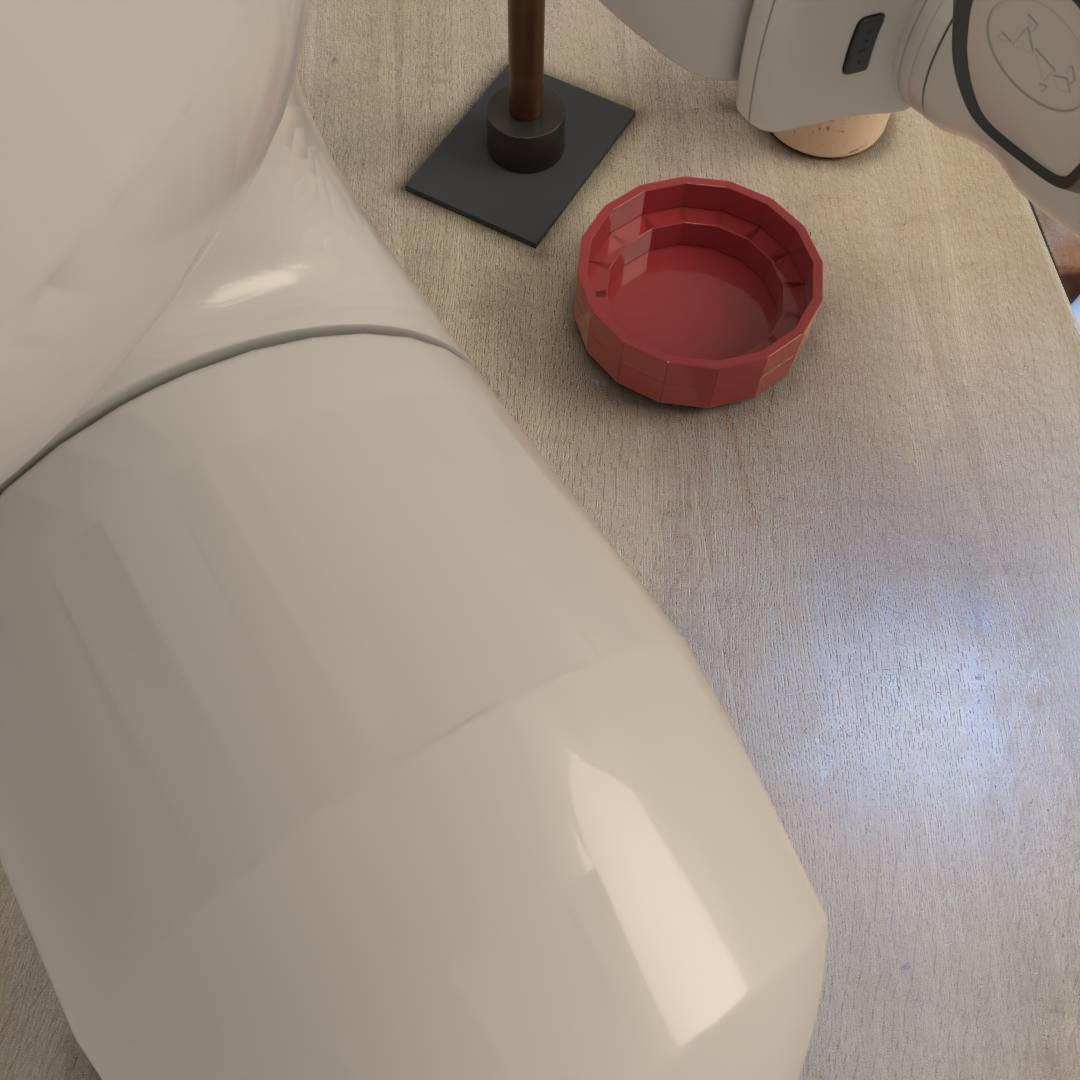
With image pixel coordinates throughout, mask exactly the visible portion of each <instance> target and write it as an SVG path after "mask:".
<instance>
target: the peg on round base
mask: <svg viewBox="0 0 1080 1080" xmlns="http://www.w3.org/2000/svg"><path fill="white" fill-rule="evenodd" d="M545 22H546V0H507V44H508V45H507V55H508V57H507V58H508V62H507V65H508V66H509V85H507V86H505V87H503V88H501V89H499V90H498V91H496V92H495V93H494V94H493V95H492V96H491V98H490V99H489V101H488V103H487V107H486V119H487V145H488V152H489V154H490V156H491V158H492V159H493V160H494V161H495V163H497V164H498V165H499V166H501V167H502V168H504V169H506V170H509V171H511V172H515V173H523V174H530V173H537V172H541V171H544V170H546V169H548V168H550V167H552V166H553V165H554V164H556V163H557V162H558V161H559V159H560V158H561V156H562V154H563V151H564V141H565V119H566V107H565V104H564V102H563V100H562V98H561V97H560V96H559V95H558V94H557V93H556V92H555V91H554V90H552V89H551V88H549V87H547V86H544V85H543V81H544V74H545V69H544V68H545V30H546V29H545V27H546V26H545V24H546V23H545Z"/></svg>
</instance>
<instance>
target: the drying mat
mask: <svg viewBox="0 0 1080 1080" xmlns="http://www.w3.org/2000/svg"><path fill="white" fill-rule="evenodd" d="M507 85H509V66H508V64H507V65H506V66H505V68H504V69H503V70H502V71H501V72H500V73H499V74H498V76H497V77H496V78H495V79H494V80H493V82H492V83H491V84H490V85H489V86H488V88H486V90H485V91H484V92H483V93H482V94H481V96H480V97H479V98H477V100H476V102H475V103H473V105H472V106H471V107H470V108H469V110H468V111H467V112H466V113H465V114H464V115H463V117H462V118H461V119H460V120H459V121H458V122H457V124H455V126H454V127H453V128H452V129H451V131H450V132H449V133H448V134H447V135H446V136H445V137H444V139H443V140H442V141H441V142H440V143H439V144H438V146H437V147H436V148H435V149H434V150H433V152H431V154H430V155H429V156H428V157H427V158H426V159H425V161H424V162H423V163H422V164H421V165H420V167H419V168H418V169H417V170H416V171H415V172H414V173H413V175H412V176H411V177H410V178H409V179H408V181H407V182H406V183H405V184H404V189H405V190H406V191H408V192H410V193H413V194H415V195H418V196H419V197H422V198H424V199H426V200H428V201H430V202H433V203H435V204H438V205H440V206H441V207H444V208H445V209H449V210H451V211H453V212H455V213H457V214H460V215H462V216H464V217H466V218H469V219H472V221H475V222H478V223H479V224H482V225H484V226H487V227H489V228H491V229H493V230H495V231H498V232H500V233H501V234H504V235H506V236H509V237H511V238H513V239H515V240H517V241H520V242H522V243H525V244H527V245H529V246H531V247H534V248H537V247H538V246H539V244H540V243H541V241H542V240H543V239H544V238H545V236H546V235H547V233H548V232H549V231H550V229H551V228H552V227H553V225H554V224H555V223H556V222H557V220H558V219H559V218H560V216H561V215H562V213H563V212H564V211H565V209H566V208H567V207H568V205H569V204H570V203H571V202H572V200H573V199H574V198H575V196H576V195H577V194H578V192H579V191H580V190H581V188H582V187H583V185H584V184H585V183H586V182H587V180H588V179H589V178H590V176H591V175H592V174H593V172H595V170H596V168H597V167H598V165H599V164H600V163H601V162H602V160H603V159H604V158H605V156H607V154H608V152H609V151H610V150H611V148H612V147H613V145H614V144H615V143H616V141H617V140H618V139H619V138H620V137H621V135H622V133H623V132H625V130H626V129H627V127H628V125H629V124H630V123H631V122H632V121H633V119H634V118H635V117H636V113H637V112H636V110H635V109H633V108H630V107H628V106H625V105H623V104H620V103H618V102H615V101H613V100H611V99H608V98H605V97H603V96H600V95H599V94H596V93H594V92H591V91H588V90H587V89H583V88H581V87H579V86H576V85H573V84H571V83H569V82H566V81H564V80H561V79H560V78H559V79H558V78H557V77H554V76H551V75H549V74H546V73H544V81H543V85H544V86H547V87H549V88H551V89H552V90H554V91H555V92H556V93H557V94H558V95H559V96H560V97H561V98H562V100H563V102H564V104H565V107H566V119H565V141H564V151H563V154H562V156H561V158H560V159H559V161H558V162H557V163H556V164H554V165H553V166H552V167H550V168H548V169H546V170H544V171H541V172H537V173H530V174H523V173H515V172H511V171H509V170H506V169H504V168H502V167H501V166H499V165H498V164H497V163H495V161H494V160H493V159H492V158H491V156H490V154H489V152H488V145H487V119H486V107H487V103H488V101H489V99H490V98H491V96H492V95H493V94H494V93H495V92H496V91H498V90H499V89H501V88H503V87H505V86H507Z"/></svg>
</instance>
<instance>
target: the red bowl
mask: <svg viewBox="0 0 1080 1080" xmlns="http://www.w3.org/2000/svg"><path fill="white" fill-rule="evenodd" d="M575 282H576V283H575V295H574V296H575V297H574V308H573V309H574V311H573V312H574V313H573V316H574V319H575V322H576V325H577V328H578V331H579V333H580V337H581V339H582V342H583V345H584V347H585V350H586V352H587V353H588V355H590V357H592V359H594V360H595V362H596V363H598V365H599V366H600V367H601V368H602V369H603V370H604V371H605V372H606V373H608V375H609V376H610V377H611V378H612V379H613V380H614V381H615V382H616V383H618V385H621V386H623V387H626V388H628V389H630V390H632V391H634V392H636V393H638V394H640V395H642V396H645V397H646V398H649V399H651V400H653V401H655V402H657V403H661V404H669V405H677V406H685V407H694V408H704V409H707V408H708V409H711V408H715V407H720V406H724V405H729V404H734V403H737V402H742V401H746V400H750V399H754V398H755V397H757V396H758V395H760V394H761V393H763V392H765V391H766V390H768V389H769V388H770V387H772V386H773V385H774V384H776V383H777V382H779V381H780V380H781V379H784V378H785V377H786V376H788V374H789V373H790V372H791V369H792V368H793V366H794V364H795V363H796V361H797V359H798V357H799V356H800V354H801V352H802V351H803V349H804V347H805V345H806V343H807V341H808V339H809V336H810V333H811V331H812V328H813V326H814V324H815V321H816V318H817V316H818V313H819V311H820V308H821V305H822V303H823V300H824V262H823V260H822V258H821V255H820V254H819V251H818V250H817V248H816V245H815V244H814V242H813V240H812V238H811V236H810V234H809V232H808V230H807V228H806V226H805V225H804V224H803V223H801V222H800V221H799V220H797V218H796V217H794V216H793V215H792V214H791V213H789V211H788V210H786V209H785V208H784V206H782V205H780V204H779V203H778V202H777V201H776V200H775V199H773V198H772V197H770V196H767V195H764V194H762V193H760V192H757V191H755V190H752V189H750V188H747V187H745V186H743V185H740V184H737V183H736V182H733V181H730V180H724V179H713V178H712V179H711V178H702V177H693V176H680V177H674V178H669V179H664V180H663V179H662V180H658V181H654V182H653V181H652V182H649V183H643V184H639V185H638V186H636V187H634V188H633V189H631V190H629V191H627V192H626V193H623V194H622V195H620V196H619V197H617V198H615V199H614V200H612V201H610V202H608V203H607V204H605V205H604V206H603V207H602V209H601V210H600V211H599V213H598V214H597V215H596V217H595V218H594V219H593V221H592V222H591V224H590V225H589V226H588V228H587V229H586V231H585V232H584V233H583V234H582V237H581V241H580V248H579V255H578V263H577V270H576V281H575Z"/></svg>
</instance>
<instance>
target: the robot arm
mask: <svg viewBox="0 0 1080 1080" xmlns="http://www.w3.org/2000/svg"><path fill="white" fill-rule="evenodd" d="M598 1H599V2H600V3H601V4H602V5H603V6H604V7H605V8H606V9H607V10H608V11H609V12H610V13H612V14H613V15H614V16H615V17H616V18H617V19H618V20H619V21H621V23H623V24H624V25H625V26H626V27H628V29H630V30H631V31H632V32H633V33H634V34H636V35H637V36H638V37H640V38H641V39H642V40H643V41H645V42H646V44H648V45H650V46H651V47H653V48H654V49H655V50H656V51H657V52H659V53H660V54H662V55H663V56H664V57H666V58H667V59H669V60H670V61H671V62H673V63H674V64H676V65H677V66H679V67H681V68H682V69H684V70H686V71H688V72H689V73H691V74H694V75H696V76H698V77H701V78H704V79H707V80H712V81H718V82H735V81H737V86H736V94H735V107H736V109H737V111H738V113H739V114H740V115H741V116H742V117H743V118H744V119H745V120H746V121H747V122H748V123H749V124H751V125H752V126H754V127H755V128H757V129H758V130H760V131H763V132H766V133H773V132H780V131H786V130H790V129H795V128H799V127H803V126H807V125H812V124H816V123H821V122H825V121H830V120H835V119H841V118H847V117H853V116H860V115H869V114H890V113H891V114H896V113H902V112H904V111H907V110H909V109H910V108H912V109H913V110H914V111H915V112H917V113H918V114H920V115H921V116H922V117H923V118H925V119H926V120H927V121H929V123H931V124H932V125H934V126H935V127H936V128H937V129H939V130H941V131H943V132H946V133H948V134H950V135H954V136H956V137H959V138H963V139H966V140H968V141H970V142H972V143H974V144H976V145H977V146H979V147H980V148H982V149H984V150H985V151H986V152H988V153H989V154H990V155H991V156H992V157H993V158H994V159H995V160H996V161H997V162H998V163H999V165H1000V166H1001V168H1002V169H1003V171H1004V172H1005V173H1006V176H1007V177H1008V178H1009V180H1010V181H1011V183H1012V185H1013V186H1014V188H1015V189H1016V190H1017V191H1018V193H1019V194H1020V195H1022V197H1024V198H1025V199H1026V200H1028V201H1029V202H1030V203H1031V204H1032V205H1034V206H1035V207H1036V208H1038V210H1040V211H1042V212H1043V213H1044V214H1045V215H1047V217H1049V218H1050V219H1051V220H1053V221H1054V222H1055V223H1057V224H1058V225H1059V226H1061V227H1062V228H1063V229H1065V230H1066V231H1068V232H1069V233H1070V234H1072V235H1073V236H1074V237H1076V238H1078V240H1080V0H598ZM311 4H312V0H0V863H1V866H2V868H3V871H4V873H5V875H6V878H7V880H8V883H9V885H10V887H11V890H12V893H13V894H14V896H15V899H16V902H17V904H18V906H19V909H20V911H21V913H22V916H23V918H24V921H25V923H26V925H27V928H28V929H29V932H30V934H31V937H32V940H33V942H34V944H35V947H36V949H37V951H38V954H39V956H40V958H41V961H42V963H43V966H44V968H45V970H46V973H47V974H48V978H49V979H50V982H51V984H52V987H53V989H54V992H55V995H56V996H57V999H58V1001H59V1003H60V1006H61V1009H62V1011H63V1014H64V1016H65V1018H66V1021H67V1023H68V1025H69V1027H70V1030H71V1032H72V1035H73V1036H74V1038H75V1041H76V1042H77V1044H78V1045H79V1047H80V1048H81V1051H83V1053H84V1054H85V1056H86V1058H87V1059H88V1061H89V1062H90V1064H91V1065H92V1066H93V1069H94V1070H95V1071H96V1073H97V1074H98V1076H99V1078H100V1079H101V1080H799V1077H800V1075H801V1072H802V1070H803V1068H804V1064H805V1061H806V1057H807V1053H808V1050H809V1047H810V1043H811V1039H812V1036H813V1032H814V1029H815V1027H816V1022H817V1019H818V1013H819V1008H820V1002H821V995H822V989H823V984H824V978H825V971H826V959H827V958H826V956H827V943H828V942H827V941H828V926H829V925H828V916H827V914H826V911H825V909H824V907H823V906H822V903H821V901H820V898H818V895H817V893H816V891H815V888H814V887H813V885H812V883H811V881H810V878H809V876H808V874H807V873H806V870H805V868H804V866H803V864H802V862H801V860H800V858H799V856H798V854H797V852H796V850H795V848H794V845H793V843H792V841H791V839H790V837H789V835H788V833H787V831H786V829H785V826H784V825H783V823H782V820H781V819H780V816H779V814H778V812H777V810H776V808H775V806H774V804H773V802H772V799H771V798H770V795H769V794H768V792H767V790H766V788H765V786H764V783H763V782H762V779H761V777H760V775H759V773H758V771H757V769H756V768H755V765H754V763H753V762H752V759H751V757H750V755H749V754H748V752H747V750H746V748H745V746H744V744H743V742H742V740H741V738H740V737H739V735H738V732H737V731H736V729H735V727H734V724H732V721H731V720H730V717H729V716H728V714H727V712H726V710H725V708H724V706H723V704H722V702H721V700H720V699H719V697H718V695H717V694H716V691H715V689H714V688H713V686H712V684H711V682H710V681H709V679H708V677H707V675H706V674H705V672H704V670H703V668H702V666H701V664H700V662H699V661H698V659H697V656H695V655H696V654H695V653H694V652H693V649H692V648H691V646H690V645H689V643H688V641H687V639H685V637H684V636H683V635H682V633H681V632H680V630H678V628H677V627H676V626H675V624H674V623H673V622H672V620H671V618H670V617H668V615H667V614H666V613H665V611H664V610H663V609H662V607H661V605H659V604H658V602H657V601H656V600H655V599H654V597H653V596H652V595H651V593H650V591H648V589H647V588H646V587H645V585H643V583H642V582H641V580H640V579H639V578H638V577H637V575H636V574H635V573H634V571H632V569H631V567H630V566H629V565H628V564H627V562H626V561H625V560H624V559H623V557H622V555H620V554H619V552H618V550H616V548H615V547H614V546H613V544H612V543H611V542H610V540H609V539H608V538H607V536H605V534H604V532H603V531H602V530H601V529H600V528H599V526H598V525H597V524H596V522H595V521H594V520H593V519H592V518H591V516H590V515H589V513H588V512H587V511H586V510H585V509H584V507H583V505H582V504H580V502H579V500H577V498H576V497H575V495H574V494H573V492H571V491H570V489H569V487H568V486H567V485H566V484H565V483H564V481H563V480H562V479H561V478H560V476H559V475H558V473H557V472H556V471H555V470H554V468H553V467H552V466H551V464H550V463H549V461H547V460H546V458H545V457H544V456H543V454H542V453H541V452H540V450H539V449H538V448H537V447H536V446H535V444H534V443H533V442H532V440H531V439H530V438H529V437H528V435H527V434H526V432H525V431H524V430H523V429H522V427H521V426H520V425H519V424H518V422H517V420H515V417H513V415H512V414H511V413H510V412H509V411H508V409H507V408H506V407H505V406H504V404H503V403H502V401H501V400H500V398H499V397H498V396H497V395H496V393H495V392H494V391H493V390H492V389H491V387H490V386H489V385H488V383H487V382H486V381H485V379H484V377H483V375H482V373H481V372H480V371H479V369H478V368H477V366H475V364H474V363H473V362H472V361H471V359H470V358H469V357H468V355H467V354H466V353H465V352H464V350H463V349H462V347H461V346H460V345H459V343H458V342H457V341H456V340H455V338H454V337H453V335H452V334H451V333H450V332H449V330H448V329H447V328H446V327H445V325H444V324H443V322H442V321H441V319H440V317H439V316H438V314H437V313H436V312H435V310H434V309H433V308H432V306H431V305H430V304H429V302H428V300H427V299H426V298H425V297H424V294H422V292H421V290H420V289H419V288H418V286H417V285H416V284H415V282H414V281H413V280H412V278H411V277H410V276H409V274H408V273H407V271H406V270H405V268H404V266H402V265H401V263H400V262H399V260H398V259H397V257H396V255H394V253H393V252H392V250H391V249H390V247H389V246H388V244H387V243H386V242H385V240H384V239H383V237H382V236H381V234H380V233H379V232H378V229H376V227H375V225H374V224H373V222H372V221H371V220H370V218H369V216H368V215H367V214H366V212H365V211H364V209H363V208H362V206H361V204H360V203H359V201H358V200H357V198H356V196H355V194H354V193H353V191H352V190H351V188H350V187H349V185H348V183H347V181H346V180H345V178H344V177H343V176H344V175H342V173H341V171H340V170H339V167H338V166H337V164H336V163H335V160H334V158H333V157H332V155H331V153H330V152H329V149H328V146H326V144H325V143H326V142H325V140H324V139H323V137H322V135H321V133H320V130H319V128H318V126H317V124H316V122H315V120H314V117H313V114H312V113H311V112H312V111H311V110H310V108H309V105H308V103H307V100H306V97H305V95H304V92H303V89H302V87H301V83H300V79H299V75H298V71H299V68H300V62H301V57H302V52H303V48H304V43H305V39H306V35H307V29H308V24H309V20H310V15H311ZM891 114H890V115H891Z"/></svg>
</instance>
